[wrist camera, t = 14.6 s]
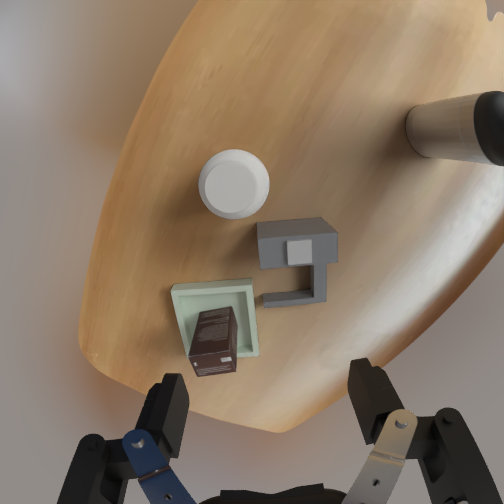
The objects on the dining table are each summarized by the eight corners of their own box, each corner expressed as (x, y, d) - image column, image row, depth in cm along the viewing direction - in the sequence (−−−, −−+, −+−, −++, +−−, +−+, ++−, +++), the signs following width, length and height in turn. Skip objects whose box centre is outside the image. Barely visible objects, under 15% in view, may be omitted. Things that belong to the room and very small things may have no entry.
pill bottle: (209, 153, 41) (187, 152, 26) (264, 149, 40) (270, 144, 26) (214, 206, 43) (195, 231, 29) (267, 202, 43) (275, 225, 29)
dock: (321, 217, 44) (338, 233, 34) (322, 293, 48) (336, 323, 39) (256, 222, 44) (257, 240, 35) (263, 299, 48) (265, 331, 39)
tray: (252, 278, 47) (252, 284, 44) (259, 347, 51) (259, 356, 49) (174, 283, 47) (170, 290, 45) (189, 350, 52) (187, 359, 49)
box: (206, 332, 49) (196, 378, 38) (199, 311, 48) (185, 354, 37) (240, 326, 49) (237, 373, 38) (233, 304, 48) (228, 348, 36)
